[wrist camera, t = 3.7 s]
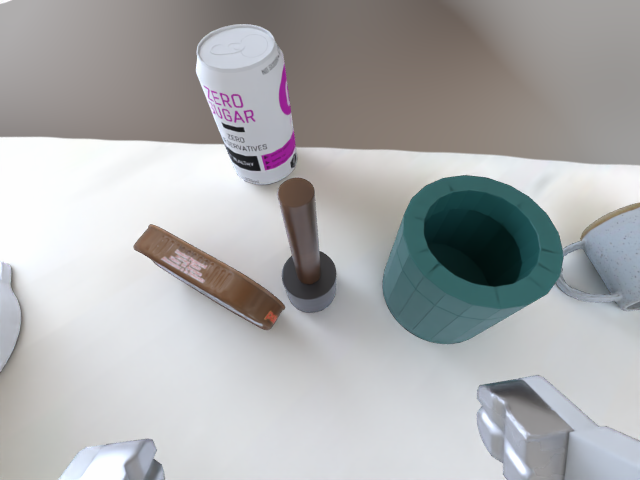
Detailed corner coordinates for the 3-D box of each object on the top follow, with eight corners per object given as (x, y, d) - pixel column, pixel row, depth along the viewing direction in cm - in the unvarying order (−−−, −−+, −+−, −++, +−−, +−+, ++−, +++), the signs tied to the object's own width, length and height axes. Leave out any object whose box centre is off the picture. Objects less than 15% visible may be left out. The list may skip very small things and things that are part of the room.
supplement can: (294, 137, 43) (278, 16, 30) (300, 184, 39) (284, 67, 26) (235, 144, 43) (193, 25, 30) (235, 192, 39) (186, 78, 26)
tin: (291, 315, 31) (279, 284, 24) (274, 344, 30) (255, 320, 23) (178, 250, 35) (137, 206, 28) (158, 273, 34) (110, 233, 27)
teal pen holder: (378, 333, 30) (399, 293, 21) (386, 236, 35) (406, 168, 26) (497, 353, 29) (579, 321, 19) (487, 249, 34) (548, 183, 24)
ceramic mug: (621, 230, 35) (689, 185, 28) (677, 301, 31) (773, 269, 24) (529, 249, 34) (576, 208, 27) (574, 324, 30) (642, 297, 23)
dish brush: (282, 308, 32) (242, 221, 18) (293, 263, 34) (265, 156, 20) (331, 316, 31) (331, 233, 17) (339, 270, 33) (343, 164, 20)
